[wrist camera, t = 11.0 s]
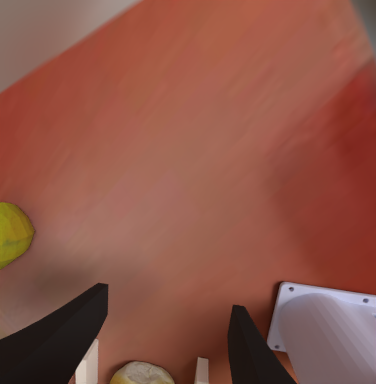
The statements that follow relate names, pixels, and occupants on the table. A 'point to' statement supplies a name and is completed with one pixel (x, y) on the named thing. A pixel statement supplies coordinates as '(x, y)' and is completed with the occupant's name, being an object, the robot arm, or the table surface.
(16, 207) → the fruit
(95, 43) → the table surface
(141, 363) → the bread roll
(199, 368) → the pocket
